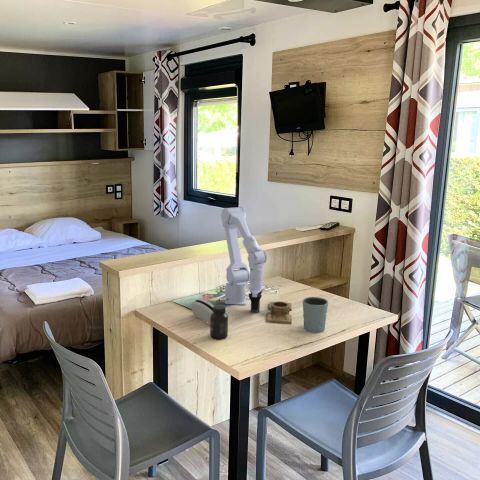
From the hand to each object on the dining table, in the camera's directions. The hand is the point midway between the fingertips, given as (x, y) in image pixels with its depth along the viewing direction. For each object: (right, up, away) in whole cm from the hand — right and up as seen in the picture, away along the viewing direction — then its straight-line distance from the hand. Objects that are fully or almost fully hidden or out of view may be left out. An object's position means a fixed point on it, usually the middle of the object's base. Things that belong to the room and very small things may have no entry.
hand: (255, 307), depth 216 cm
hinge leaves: (+11, -2, -1) cm, 11 cm away
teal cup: (+23, -7, -16) cm, 29 cm away
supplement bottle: (-15, -8, -27) cm, 31 cm away
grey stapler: (-21, -4, -11) cm, 24 cm away
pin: (0, -2, 0) cm, 2 cm away
